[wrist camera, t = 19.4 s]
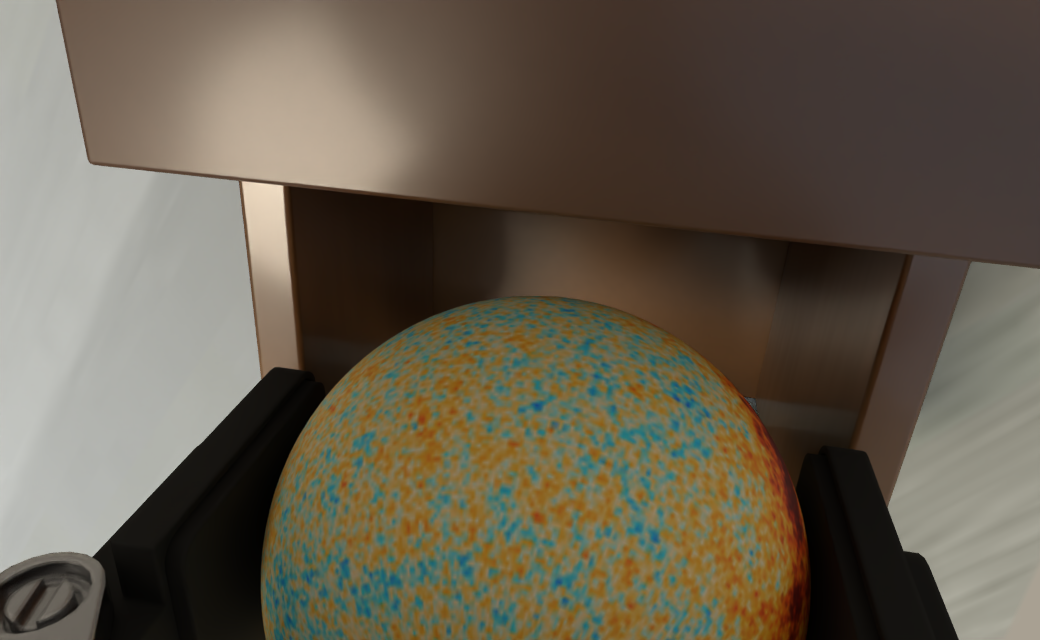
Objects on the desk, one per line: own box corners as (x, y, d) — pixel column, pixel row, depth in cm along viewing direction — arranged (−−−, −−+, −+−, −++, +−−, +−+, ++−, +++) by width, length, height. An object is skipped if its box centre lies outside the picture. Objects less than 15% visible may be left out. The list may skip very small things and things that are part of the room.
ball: (316, 273, 13) (-3, 568, 7) (733, 176, 11) (806, 465, 5) (447, 582, 16) (300, 995, 10) (804, 547, 14) (908, 1037, 8)
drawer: (758, 593, 24) (798, 916, 16) (395, 531, 25) (268, 797, 17) (950, -144, 15) (1255, -241, 7) (377, -168, 17) (107, -268, 9)
